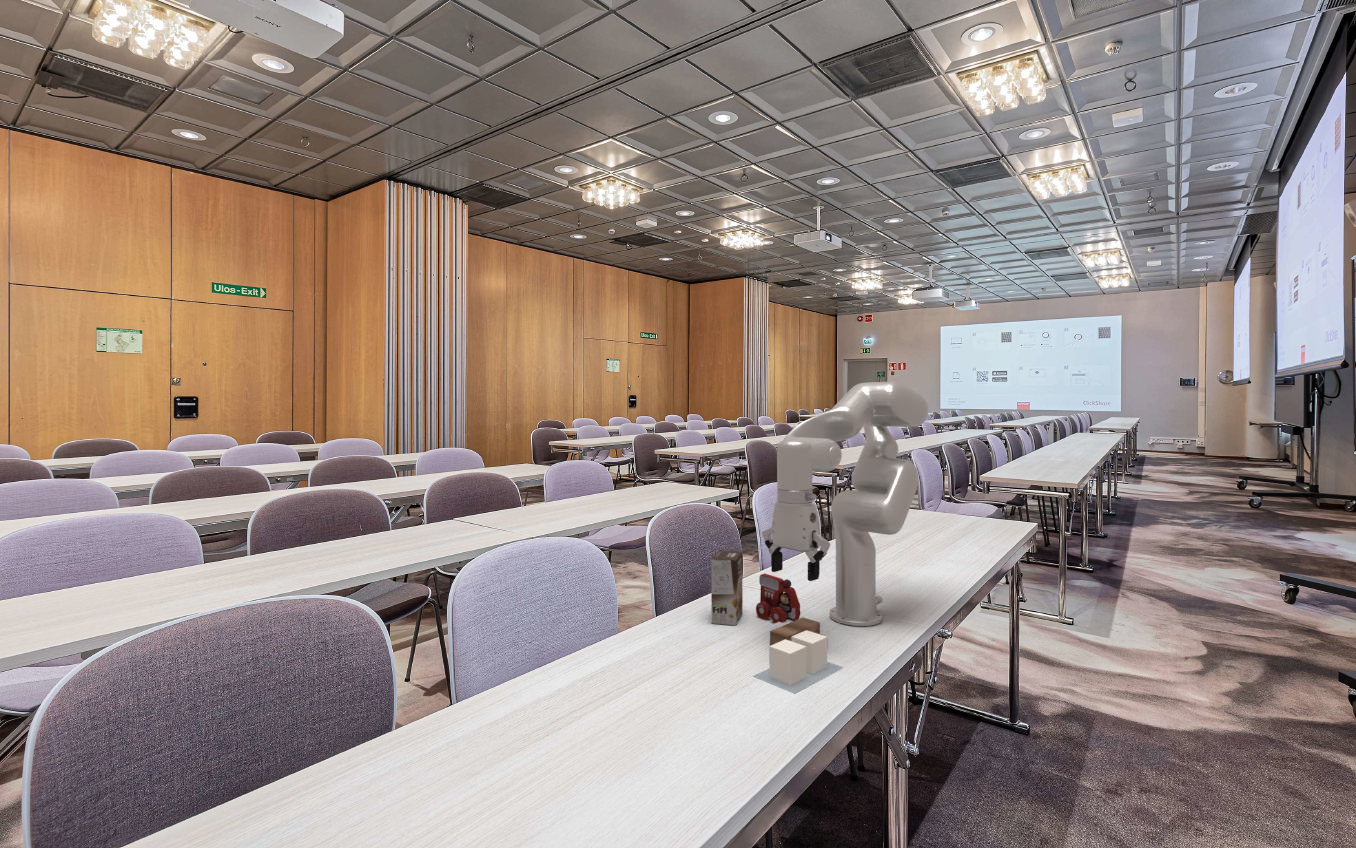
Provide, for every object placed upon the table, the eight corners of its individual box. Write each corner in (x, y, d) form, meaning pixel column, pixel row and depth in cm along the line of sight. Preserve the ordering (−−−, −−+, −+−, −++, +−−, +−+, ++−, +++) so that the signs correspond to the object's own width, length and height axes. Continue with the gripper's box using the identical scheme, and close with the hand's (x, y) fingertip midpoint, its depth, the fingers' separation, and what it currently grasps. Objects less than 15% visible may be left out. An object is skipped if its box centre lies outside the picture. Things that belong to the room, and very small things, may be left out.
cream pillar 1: (785, 669, 122) (785, 639, 122) (806, 677, 118) (806, 646, 118) (769, 677, 119) (769, 646, 118) (790, 685, 115) (790, 653, 115)
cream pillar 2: (806, 659, 127) (806, 630, 127) (827, 666, 123) (827, 636, 123) (791, 666, 123) (791, 636, 123) (812, 674, 120) (812, 643, 119)
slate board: (802, 657, 130) (802, 652, 130) (843, 672, 123) (843, 667, 123) (752, 681, 119) (752, 676, 119) (795, 699, 112) (795, 693, 112)
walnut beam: (803, 639, 141) (803, 617, 140) (819, 644, 137) (819, 622, 137) (769, 654, 133) (769, 631, 132) (786, 660, 129) (786, 636, 129)
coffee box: (736, 626, 149) (736, 560, 148) (710, 623, 150) (710, 558, 150) (743, 613, 157) (742, 551, 157) (718, 611, 159) (718, 549, 159)
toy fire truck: (787, 629, 146) (787, 586, 146) (751, 615, 156) (750, 574, 156) (807, 622, 151) (807, 580, 150) (770, 609, 160) (770, 570, 160)
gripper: (838, 499, 130) (838, 580, 130) (774, 491, 143) (774, 564, 143) (818, 503, 125) (818, 587, 125) (752, 494, 138) (753, 570, 138)
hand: (794, 575), depth 134 cm, fingers open, 9 cm apart
